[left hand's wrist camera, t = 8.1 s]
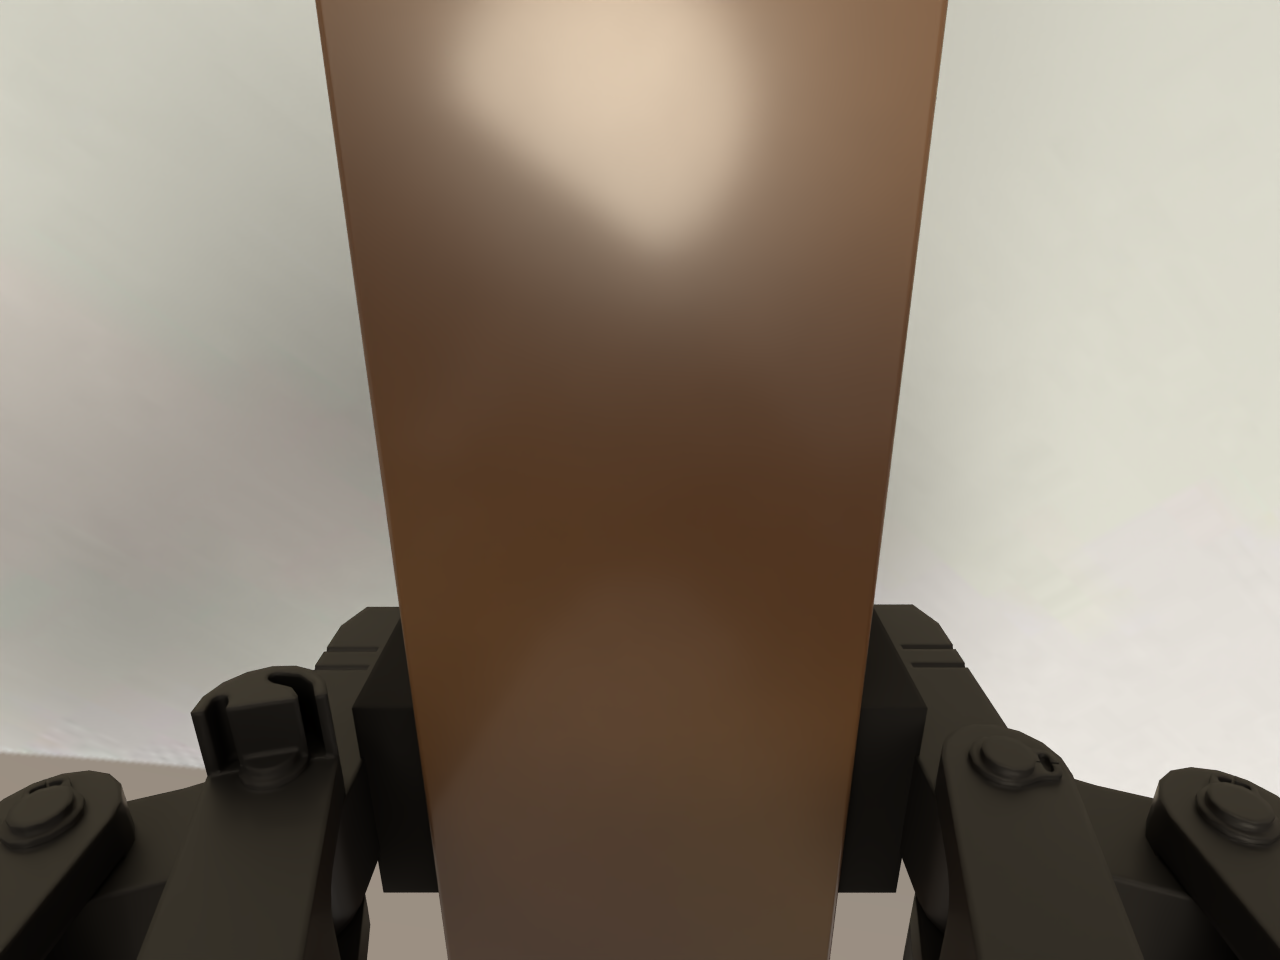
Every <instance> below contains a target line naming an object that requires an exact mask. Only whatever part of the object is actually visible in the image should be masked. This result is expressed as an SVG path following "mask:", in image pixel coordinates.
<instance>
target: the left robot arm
mask: <svg viewBox="0 0 1280 960" xmlns="http://www.w3.org/2000/svg"><path fill="white" fill-rule="evenodd" d="M191 716H192V720H193V724H194V728H195V731H196V735H197V739H198V742H199V746H200V750H201V753H202V757H203V761H204V764H205V768H206V772H207V775H208V776H207V779H206V781H205V782H204V783H201V784H198V785H194V786H191V787H188V788H184V789H180V790H175V791H171V792H167V793H162V794H158V795H154V796H149V797H145V798H140V799H136V800H132V801H126V798H125V795H124V792H123V788H122V785H121V784H120V783H119V782H118V781H117V780H116V779H115V778H114V777H112V776H111V775H110V774H107V773H101V772H95V771H81V772H73V773H65V774H61V775H58V776H55V777H52V778H48V779H45V780H42V781H39V782H36V783H33V784H31V785H29V786H28V787H26V788H24V789H22V790H20V791H18V792H16V793H14V794H12V795H10V796H9V797H7V798H5V799H3V800H2V801H0V960H367V953H368V942H369V932H370V920H369V914H368V907H367V902H366V896H365V893H366V890H367V887H368V885H369V882H370V880H371V877H372V874H373V872H374V869H375V866H376V864H377V861H378V863H379V869H380V875H381V880H382V886H383V892H439V890H438V883H437V876H436V869H435V861H434V854H433V847H432V840H431V832H430V825H429V818H428V811H427V804H426V796H425V789H424V782H423V775H422V767H421V760H420V753H419V746H418V739H417V731H416V724H415V717H414V710H413V702H412V695H411V688H410V681H409V674H408V666H407V659H406V652H405V645H404V638H403V630H402V623H401V616H400V609H399V607H366V608H365V609H364V610H362V611H361V612H359V613H358V614H357V615H355V616H354V617H353V618H351V619H350V620H348V621H347V622H346V623H344V624H343V625H341V627H340V628H339V630H338V631H337V633H336V634H335V636H334V638H333V639H332V641H331V642H330V644H329V645H328V647H327V652H324V653H323V654H322V656H321V657H320V659H319V660H318V662H317V663H316V665H315V670H310V669H306V668H302V667H299V666H272V667H268V668H263V669H259V670H255V671H250V672H247V673H244V674H242V675H240V676H237V677H235V678H233V679H230V680H228V681H226V682H223V683H222V684H220V685H219V686H218V687H216V688H215V689H213V690H212V691H211V692H209V693H208V694H206V695H205V696H204V697H202V699H201V700H200V701H199V703H198V704H197V705H196V707H195V708H194V709H193V710H192V712H191ZM902 859H903V862H904V864H905V867H906V869H907V872H908V875H909V877H910V880H911V883H912V885H913V888H914V890H915V896H914V902H913V907H912V913H911V918H910V923H909V929H908V934H907V939H906V945H905V950H904V956H903V960H1280V798H1279V797H1278V796H1277V795H1275V794H1273V793H1271V792H1269V791H1267V790H1265V789H1263V788H1261V787H1259V786H1258V785H1256V784H1254V783H1252V782H1250V781H1248V780H1245V779H1242V778H1239V777H1237V776H1233V775H1230V774H1227V773H1224V772H1221V771H1218V770H1210V769H1202V768H1194V767H1189V768H1183V769H1177V770H1172V771H1170V772H1169V773H1167V774H1166V775H1165V776H1164V777H1163V778H1162V779H1161V780H1159V783H1158V786H1157V789H1156V792H1155V795H1154V798H1149V797H1145V796H1140V795H1136V794H1132V793H1127V792H1123V791H1118V790H1114V789H1109V788H1105V787H1101V786H1096V785H1093V784H1089V783H1086V782H1083V781H1079V780H1076V779H1074V777H1073V775H1072V773H1071V772H1070V770H1069V769H1068V767H1067V766H1066V764H1065V763H1064V761H1063V760H1062V758H1061V757H1060V756H1058V755H1057V754H1056V753H1055V752H1053V751H1052V750H1051V749H1050V748H1048V747H1047V746H1046V745H1045V744H1044V743H1042V742H1040V741H1038V740H1036V739H1034V738H1032V737H1030V736H1028V735H1026V734H1024V733H1022V732H1020V731H1017V730H1013V729H1009V728H1007V726H1006V725H1005V723H1004V722H1003V720H1002V719H1001V717H1000V716H999V714H998V713H997V711H996V710H995V708H994V707H993V705H992V704H991V702H990V701H989V699H988V697H987V696H986V694H985V693H984V691H983V690H982V688H981V687H980V685H979V684H978V682H977V681H976V679H975V678H974V676H973V675H972V673H971V672H970V670H969V669H968V668H965V663H964V661H963V660H962V658H961V657H960V655H959V654H958V652H957V651H956V649H953V644H952V643H951V641H950V640H949V638H948V637H947V635H946V634H945V632H944V631H943V629H942V628H941V626H940V625H939V623H937V622H936V621H935V620H933V619H932V618H931V617H929V616H928V615H926V614H925V613H924V612H922V611H921V610H919V609H918V608H917V607H915V606H914V605H873V613H872V621H871V629H870V637H869V646H868V654H867V662H866V670H865V678H864V686H863V694H862V702H861V710H860V718H859V726H858V735H857V743H856V751H855V759H854V767H853V775H852V783H851V791H850V799H849V807H848V815H847V824H846V832H845V840H844V848H843V856H842V864H841V872H840V880H839V888H838V893H895V892H896V888H897V883H898V877H899V871H900V865H901V860H902Z"/></svg>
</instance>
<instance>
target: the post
mask: <svg viewBox="0 0 1280 960" xmlns="http://www.w3.org/2000/svg"><path fill="white" fill-rule="evenodd" d="M315 2H316V9H317V17H318V24H319V31H320V38H321V45H322V53H323V60H324V67H325V74H326V82H327V89H328V96H329V103H330V110H331V118H332V125H333V132H334V139H335V146H336V154H337V161H338V168H339V175H340V183H341V190H342V197H343V204H344V211H345V219H346V226H347V233H348V240H349V248H350V255H351V262H352V269H353V276H354V284H355V291H356V298H357V305H358V313H359V320H360V327H361V334H362V341H363V349H364V356H365V363H366V370H367V378H368V385H369V392H370V399H371V406H372V414H373V421H374V428H375V435H376V443H377V450H378V457H379V464H380V471H381V479H382V486H383V493H384V500H385V508H386V515H387V522H388V529H389V536H390V544H391V551H392V558H393V565H394V573H395V580H396V587H397V594H398V601H399V609H400V616H401V623H402V630H403V638H404V645H405V652H406V659H407V666H408V674H409V681H410V688H411V695H412V702H413V710H414V717H415V724H416V731H417V739H418V746H419V753H420V760H421V767H422V775H423V782H424V789H425V796H426V804H427V811H428V818H429V825H430V832H431V840H432V847H433V854H434V861H435V869H436V876H437V883H438V890H439V897H440V905H441V912H442V919H443V926H444V934H445V940H446V948H447V955H448V960H830V953H831V945H832V937H833V929H834V920H835V913H836V904H837V896H838V888H839V880H840V872H841V864H842V856H843V848H844V840H845V832H846V824H847V815H848V807H849V799H850V791H851V783H852V775H853V767H854V759H855V751H856V743H857V735H858V726H859V718H860V710H861V702H862V694H863V686H864V678H865V670H866V662H867V654H868V646H869V637H870V629H871V621H872V613H873V605H874V597H875V589H876V581H877V573H878V565H879V557H880V548H881V540H882V532H883V524H884V516H885V508H886V500H887V492H888V484H889V476H890V468H891V459H892V451H893V443H894V435H895V427H896V419H897V411H898V403H899V395H900V387H901V379H902V370H903V362H904V354H905V346H906V338H907V330H908V322H909V314H910V306H911V298H912V290H913V282H914V273H915V265H916V257H917V249H918V241H919V233H920V225H921V217H922V209H923V201H924V193H925V184H926V176H927V168H928V160H929V152H930V144H931V136H932V128H933V120H934V112H935V104H936V95H937V87H938V79H939V71H940V63H941V55H942V47H943V39H944V31H945V23H946V15H947V6H948V0H315Z"/></svg>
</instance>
